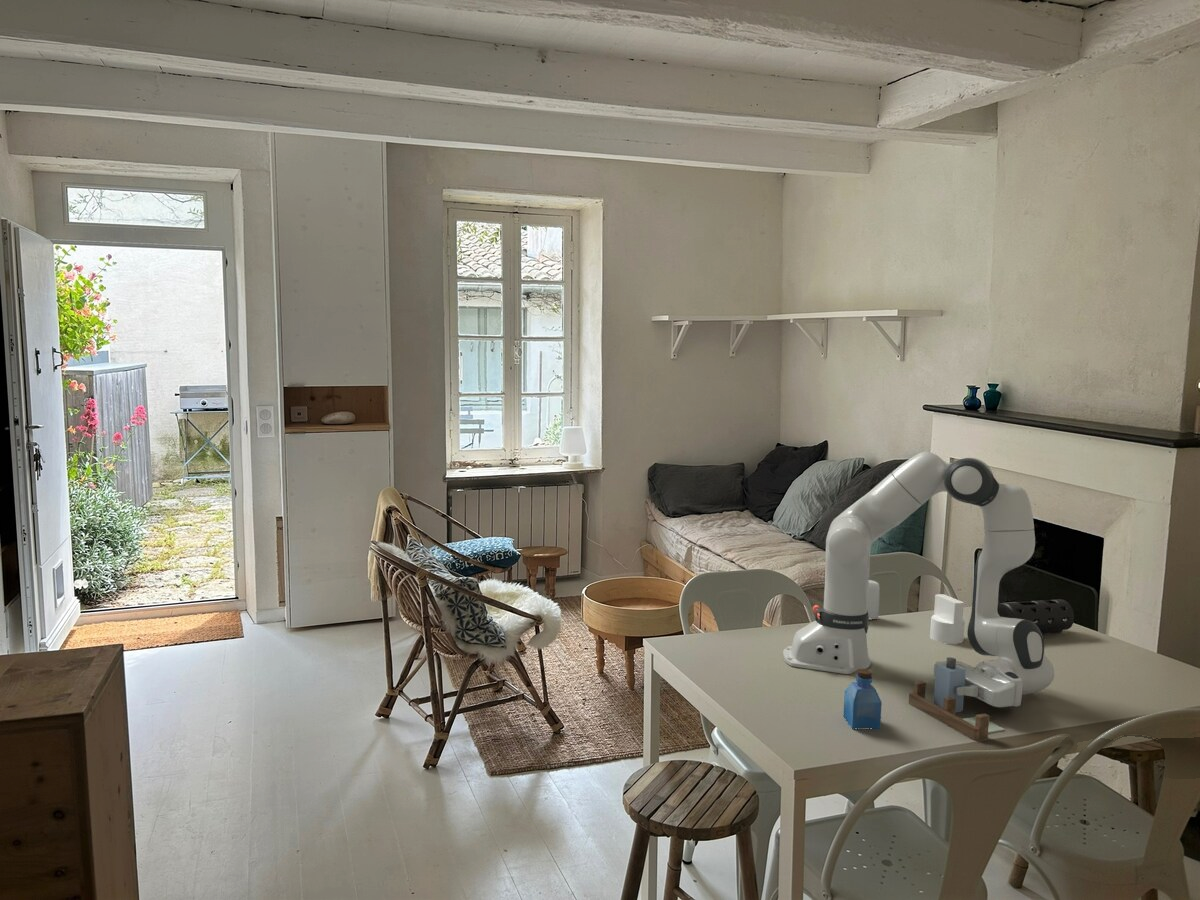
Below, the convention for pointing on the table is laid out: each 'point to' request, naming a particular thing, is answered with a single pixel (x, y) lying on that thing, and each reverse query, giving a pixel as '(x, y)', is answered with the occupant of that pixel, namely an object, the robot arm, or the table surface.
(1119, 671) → the table surface
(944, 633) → the base with upright slab
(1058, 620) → the muzzle brake
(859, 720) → the perfume bottle
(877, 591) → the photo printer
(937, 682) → the blue block with peg
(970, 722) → the comb rack
